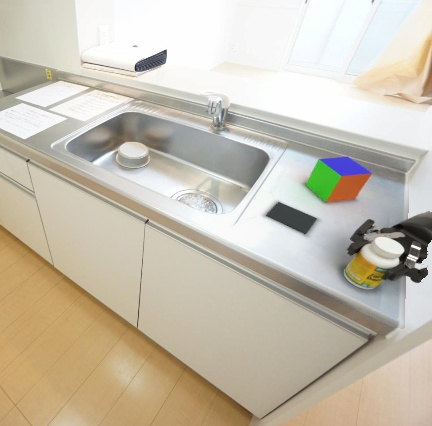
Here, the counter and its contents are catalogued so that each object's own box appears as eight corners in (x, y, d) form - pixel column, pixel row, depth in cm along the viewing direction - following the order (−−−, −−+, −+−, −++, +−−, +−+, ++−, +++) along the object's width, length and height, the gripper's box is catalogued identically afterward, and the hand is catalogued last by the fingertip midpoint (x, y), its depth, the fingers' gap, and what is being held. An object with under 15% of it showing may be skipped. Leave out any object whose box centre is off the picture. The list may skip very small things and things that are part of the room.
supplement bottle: (360, 265, 56) (390, 232, 50) (383, 288, 52) (419, 254, 46) (335, 269, 56) (362, 235, 49) (357, 292, 52) (389, 258, 45)
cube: (332, 181, 78) (347, 156, 73) (354, 199, 72) (372, 173, 67) (305, 184, 77) (318, 159, 72) (325, 202, 71) (341, 176, 66)
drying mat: (316, 219, 67) (317, 218, 66) (305, 234, 63) (306, 233, 63) (278, 202, 72) (278, 201, 71) (265, 215, 68) (266, 214, 68)
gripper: (396, 198, 57) (339, 222, 52) (491, 246, 47) (432, 282, 42) (374, 225, 62) (320, 249, 57) (456, 273, 52) (399, 308, 47)
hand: (368, 263), depth 49 cm, fingers closed on supplement bottle, 5 cm apart
